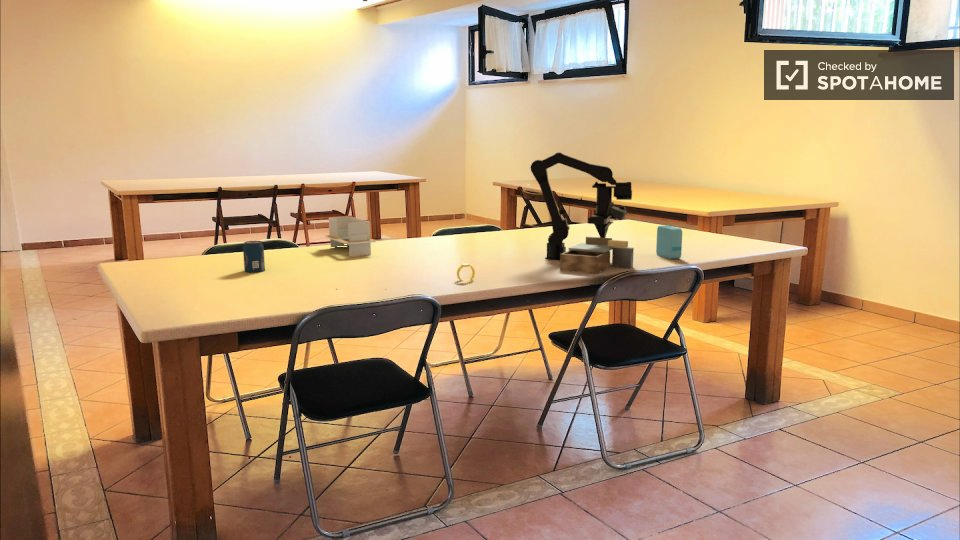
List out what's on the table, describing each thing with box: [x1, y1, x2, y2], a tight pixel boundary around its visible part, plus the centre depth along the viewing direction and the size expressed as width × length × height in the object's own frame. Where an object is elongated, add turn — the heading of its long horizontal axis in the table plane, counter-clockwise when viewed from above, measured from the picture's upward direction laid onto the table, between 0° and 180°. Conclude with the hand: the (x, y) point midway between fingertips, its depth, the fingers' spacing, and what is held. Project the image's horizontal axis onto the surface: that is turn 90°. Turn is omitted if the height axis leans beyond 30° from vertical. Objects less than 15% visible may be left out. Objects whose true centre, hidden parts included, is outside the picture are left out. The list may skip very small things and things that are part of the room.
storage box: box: [559, 249, 611, 275], centre depth 264 cm, size 14×14×6 cm
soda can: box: [242, 240, 266, 274], centre depth 255 cm, size 7×7×12 cm
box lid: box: [568, 236, 614, 253], centre depth 270 cm, size 14×14×3 cm
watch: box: [456, 262, 476, 282], centre depth 243 cm, size 6×3×6 cm, turn 113°
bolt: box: [608, 239, 629, 247], centre depth 267 cm, size 7×2×2 cm, turn 62°
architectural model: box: [324, 215, 377, 257], centre depth 297 cm, size 26×13×15 cm, turn 31°
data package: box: [655, 225, 683, 260], centre depth 287 cm, size 12×4×12 cm, turn 15°
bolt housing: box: [611, 247, 635, 269], centre depth 267 cm, size 7×3×7 cm, turn 62°
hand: (603, 240), depth 280 cm, fingers closed
